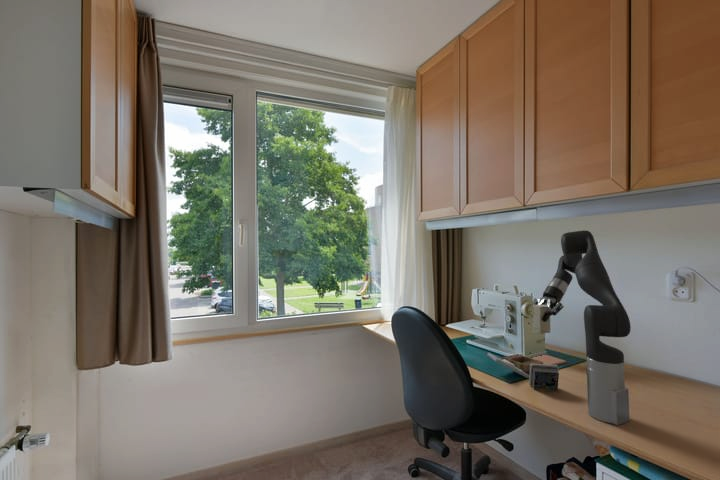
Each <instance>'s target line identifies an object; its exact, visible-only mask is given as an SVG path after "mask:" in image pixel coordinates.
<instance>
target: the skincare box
mask: <svg viewBox="0 0 720 480" xmlns="http://www.w3.org/2000/svg"><path fill="white" fill-rule="evenodd" d="M547 307H548V306H547V305H533V308H534V313H535V314H533V313H532V314H533V315H534V319H533V318H532V332H533V333H537V334H540V335H543V334H550V333H551V316H550V317H549V318H548V320H547V321H546V322H543V320H542V317H543V316H544V314H545V313H546V310H547ZM533 321H534V323H533Z"/></svg>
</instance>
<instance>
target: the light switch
mask: <svg viewBox="0 0 720 480" xmlns="http://www.w3.org/2000/svg"><path fill="white" fill-rule="evenodd" d="M487 356H488V357H490V359H492V360H493V361H495V362H496V363H498V364H499V365H501V366H504V367H505V368H507V369H510V370H511V371H513V372H515V373H517V374H519V375H520V376H522V377H525V378H527V379H529V376H530V374H529V375H528V373H525V372H523V371H522V370H521V369H519V368H517V367H515V365H514V364H512V363H511V362H509V361H507V360H505V359H504V360H503V358H501V357H498V356H497V355H495V354H492V353H491V352H487Z"/></svg>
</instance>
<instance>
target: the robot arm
mask: <svg viewBox="0 0 720 480" xmlns="http://www.w3.org/2000/svg"><path fill="white" fill-rule="evenodd" d="M560 247H561V251H562V255H561V256H560V258H559V260H558V264H557V269H556V273H555V275H554V276H553V277H552V279H551V280H550V281H549V283H548V284H547V286H546V288H545V289H544V291H543V293H542V297H540V299H537V298H536V297H535V298H534V299H533V301H532V303H533V302H534V303H535V304H536V305H547V306H548V307H547V310H546V313H545V314H544V316H543V317H542V320H543V322H546V321H547V320H548V318H549V317H550V318H551V316H557V315H558V313H559V312H560V311H561V310H562V309H564V304H562V302H561V301H562V299H563V297H564V296H565V294H566V292H567V290H568V287H569V286H570V284H571V282H572V280H573V275H572V274H571V273H573V274H574V275H575V277H576V281H577V284H578V286H579V288H580V289H581V290H582V291H583V292H584V293H585V294H587V295H588V296H590V297H591V298H592V299H594V300H596V301H597V302H599V303H600V304H599V305H598V304H589V305H586V306H585V308H584V310H583V323H584V332H585V333H584V334H585V350H586V353H585V354H586V385H587V386H586V389H587V390H586V392H587V412H588V415H590V416H591V417H592V418H593V419H596V420H598V421H602V422H604V423H609V424H613V425H616V426H619V425H622V424H625V423H628V422H629V421H630V401H629V399H630V397H629V396H630V394H629V388H628V387H626V386H625V385H626V384H625V383H626V381H625V356H624V352H623V351H622V350H621V349H619V348H616V347H614V346H612V345H608V344H606V343H604V342H603V341H601V340H600V337H606V338H627V337H628V336H629V335H630V334H631V321H630V317H629V315H628V313H627V310H626V309H625V307H624V305H623V304H622V302H621V300H620V299H619V297H618V295H617V294H616V291H615V288H614V287H613V285H612V281H611V279H610V277H609V274H608V271H607V269H606V267H605V266H604V263H603V261H602V259H601V257H600V254H599V250H598V247H597V244H596V241H595V238H594V235H593V234H592V232H591V231H589V230H578V231H570V232H569V231H568V232H564V233H563V234H562V235H561V237H560ZM584 254H585V255H584ZM583 255H584V256H583Z"/></svg>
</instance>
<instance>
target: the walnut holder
mask: <svg viewBox="0 0 720 480" xmlns="http://www.w3.org/2000/svg"><path fill="white" fill-rule="evenodd" d="M519 354H520V353H517V354H513V355H512V354H511V355H508V356H502V360H504V359H505V360H507V361H509V362H511V363H512V364H514V365H515V367H517V368H519V369H521V370H522V371H523V372H525V373H526V374H530V364H531V363H535V364H543V362H541V361H538V360H535V359H532V358H529V357H526V356H527V355H523V354H520V355H519Z"/></svg>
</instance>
